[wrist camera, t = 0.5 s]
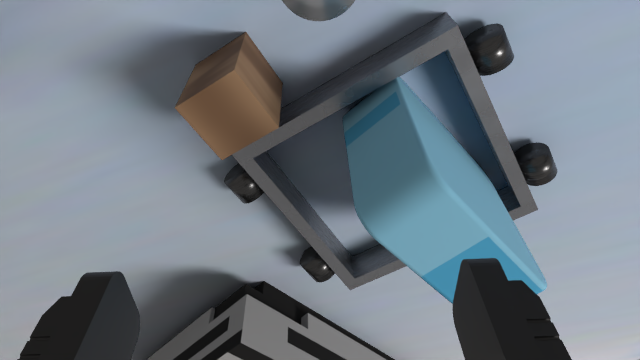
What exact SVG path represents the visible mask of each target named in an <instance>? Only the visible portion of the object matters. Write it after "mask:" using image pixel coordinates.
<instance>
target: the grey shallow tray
mask: <svg viewBox="0 0 640 360" xmlns="http://www.w3.org/2000/svg"><path fill="white" fill-rule="evenodd" d="M444 51H446V53H447V56H448V58H449V60H450V62H451V64H452V66H453V68H454V71H455V73H456V75H457V77H458V79H459V81H460V83H461V86H462V88H463V90H464V92H465V94H466V96H467V98H468V100H469V103H470V105H471V107H472V109H473V111H474V113H475V115H476V118H477V120H478V122H479V124H480V126H481V128H482V130H483V133H484V135H485V137H486V139H487V141H488V143H489V145H490V147H491V150H492V152H493V154H494V156H495V158H496V160H497V162H498V165H499V167H500V169H501V171H502V173H503V175H504V177H505V180H506V182H507V184H508V187H506V188H504V189H502V190H499V191H497V193H498V195H499V197H500V199H501V200H502V202H503V204H504V206H505V208H506V209H507V211H508V213H509V215H510V217H511V218H512V220H515V219H517V218H520V217H522V216H524V215H527V214H529V213H531V212H534V211H536V210H538V208H537V206H536V203H535V201H534V199H533V197H532V194H531V192H530V190H529V187H528V185H532V186H539V185H543V184H546V183H548V182H550V181H551V180H552V179H553V178H554V177H555V176H556V174H557V168H556V165H555V163H554V160H553V157H552V155H551V152H550V149H549V147H548V146H547V145H546V144H543V143H531V144H527V145H525V146H523V147H521V148H520V149H519V150H518V151H517V152H516V153H515V155H514V153H513V151H512V149H511V146H510V144H509V142H508V139H507V137H506V135H505V132H504V130H503V128H502V126H501V123H500V121H499V119H498V116H497V114H496V112H495V110H494V107H493V105H492V103H491V100H490V98H489V96H488V94H487V91H486V89H485V87H484V84H483V82H482V80H481V77H480V75H482V76H485V75H491V74H494V73H497V72H499V71H501V70H503V69H504V68H506V67H507V66H508V65H509V64H510V63H511V62H512V61H513V59H514V54H513V52H512V49H511V46H510V44H509V41H508V39H507V36H506V33H505V31H504V28H503V26H502V25H500V24H490V25H487V26H484V27H481V28H479V29H477V30H476V31H474V32H473V33H471V34H470V35H469V36H468V37H467V38H466V39H465V41H464V39H463V36H462V34H461V32H460V29H459V27H458V25H457V24H456V23H455V22H454V20H453V19H452V18H451V17H450V16H449V15H448V13H447V12H446V13H445V14H443V15H441V16H440V17H438V18H436V19H434V20H433V21H431V22H429V23H428V24H426V25H424V26H422V27H421V28H419V29H417V30H416V31H414V32H412V33H410V34H409V35H407V36H405V37H404V38H402V39H400V40H398V41H397V42H395V43H393V44H392V45H390V46H388V47H387V48H385V49H383V50H381V51H380V52H378V53H376V54H375V55H373V56H371V57H369V58H368V59H366V60H364V61H363V62H361V63H359V64H357V65H356V66H354V67H352V68H351V69H349V70H347V71H345V72H344V73H342V74H340V75H339V76H337V77H335V78H334V79H332V80H330V81H328V82H327V83H325V84H323V85H322V86H320V87H318V88H316V89H315V90H313V91H311V92H310V93H308V94H306V95H304V96H303V97H301V98H299V99H298V100H296V101H294V102H292V103H291V104H289V105H287V106H286V107H284V108H282V109H280V121H279V128H278V129H276V130H274V131H272V132H271V133H269V134H267V135H265V136H264V137H262V138H260V139H258V140H257V141H255V142H253V143H251V144H250V145H248V146H246V147H244V148H243V149H241V150H239V151H237V152H236V153H234V154H232V156H233V157H234V158H235V159H236V160H237V161H238V163H239V164H237V165H236V166H235V167H233V168H232V169H231V170H230V171H229V173H228V174H227V175H226V177H225V180H224V182H225V184H226V185H227V186H228V187H229V188H230V189H231V190H232V192H233V193H234V194H235V195H236V196H237V197H238V198H239V199H240V200H241V201H242V202H243V203H250V202H252V201H254V200H256V199H257V198H259V197H260V196H261V195H262V194H263V193H264V192H265V193H266V195H267V196H268V197H269V198H270V199H271V200H272V201H273V203H274V204H275V205H276V206H277V207H278V208H279V209H280V211H281V212H282V213H283V214H284V215H285V216H286V217H287V219H288V220H289V221H290V222H291V223H292V224H293V225H294V227H295V228H296V229H297V230H298V231H299V232H300V233H301V235H302V236H303V237H304V238H305V239H306V240H307V241H308V243H309V244H310V245H311V247H309V248H308V249H307V250H306V251H305V252H304V253H303V255H302V256H301V259H300V264H301V266H302V267H303V268H304V269H305V270H306V271H307V273H308V274H309V275H310V276H311V277H312V278H313V279H314V280H315V281H316V282H324V281H326V280H328V279H330V278H331V277H332V276H333V275H334V273H336V275H337V276H338V277H339V278H340V279H341V280H342V281H343V283H344V284H345V285H346V286H347V287H348V288H349V289H350V290H352V289H354V288H356V287H359V286H361V285H363V284H366V283H368V282H370V281H373V280H375V279H377V278H380V277H382V276H384V275H387V274H389V273H391V272H394V271H396V270H398V269H401V268H403V267H405V266H406V265H405V264H404V263H403V262H402V261H400V260H399V259H398V258H397V257H396V256H394V255H393V254H392V253H391V252H390V251H388V250H387V249H386V248H385V247H384V246H382V245H381V244H380V245H377V246H375V247H373V248H371V249H368V250H366V251H364V252H362V253H360V254H357V255H355V256H353V257H352V256H351V255H350V254H349V253H348V251H347V250H346V249H345V248H344V246H343V245H342V244H341V243H340V241H339V240H338V239H337V238H336V237H335V235H334V234H333V233H332V232H331V230H330V229H329V228H328V227H327V226H326V224H325V223H324V222H323V221H322V219H321V218H320V217H319V216H318V215H317V213H316V212H315V211H314V210H313V208H312V207H311V206H310V205H309V204H308V202H307V201H306V200H305V199H304V197H303V196H302V195H301V194H300V193H299V191H298V190H297V189H296V188H295V186H294V185H293V184H292V183H291V182H290V180H289V179H288V178H287V177H286V175H285V174H284V173H283V172H282V171H281V169H280V168H279V167H278V166H277V164H276V163H275V162H274V161H273V160H272V158H271V157H270V156H269V155H268V153H267V152H266V151H267V150H269V149H271V148H272V147H274V146H276V145H278V144H279V143H281V142H283V141H285V140H287V139H288V138H290V137H292V136H294V135H296V134H297V133H299V132H301V131H303V130H304V129H306V128H308V127H310V126H312V125H313V124H315V123H317V122H319V121H321V120H322V119H324V118H326V117H328V116H329V115H331V114H333V113H335V112H337V111H338V110H340V109H342V108H344V107H346V106H347V105H349V104H351V103H353V102H355V101H356V100H358V99H360V98H362V97H363V96H365V95H367V94H369V93H371V92H372V91H374V90H376V89H378V88H380V87H381V86H383V85H385V84H387V83H388V82H390V81H392V80H394V79H396V78H397V77H399V76H401V75H403V74H405V73H406V72H408V71H410V70H412V69H413V68H415V67H417V66H419V65H421V64H422V63H424V62H426V61H428V60H430V59H431V58H433V57H435V56H437V55H438V54H440V53H442V52H444ZM527 184H528V185H527Z"/></svg>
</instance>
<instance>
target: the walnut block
mask: <svg viewBox="0 0 640 360" xmlns="http://www.w3.org/2000/svg"><path fill="white" fill-rule="evenodd" d="M282 85H283V83H282V81H281V80H280V79H279V77H278V76H277V74H276V73H275V72H274V70H273V69H272V67H271V66H270V65H269V63H268V62H267V60H266V59H265V58H264V56H263V55H262V54H261V52H260V51H259V49H258V48H257V47H256V45H255V44H254V42H253V41H252V40H251V38H250V37H249V35H248V34H247V33H246V32H245V33H243V34H242V35H240V36H239V37H237V38H236V39H234V40H233V41H231V42H230V43H228V44H227V45H225V46H224V47H222V48H221V49H219V50H218V51H216V52H215V53H213V54H212V55H210V56H209V57H207V58H206V59H204V60H202V61H201V62H199V63H198V64H196V65H195V67H194V69H193V71H192V73H191V76H190V78H189V80H188V82H187V84H186V86H185V88H184V90H183V92H182V94H181V96H180V98H179V100H178V102H177V104H176V106H175V109H176V110H177V111H178V112H179V113H180V114H181V115H182V116H183V118H184V119H185V120H186V121H187V122H188V123H189V124H190V125H191V126H192V128H193V129H194V130H195V131H196V132H197V133H198V134H199V135H200V137H201V138H202V139H203V140H204V141H205V142H206V143H207V144H208V145H209V147H210V148H211V149H212V150H213V151H214V152H215V153H216V154H217V155H218V157H219V158H220V159H221V160H223V159H225V158H227V157H229V156H230V155H232V154H234V153H236V152H237V151H239V150H241V149H243V148H244V147H246V146H248V145H250V144H251V143H253V142H255V141H257V140H258V139H260V138H262V137H264V136H265V135H267V134H269V133H271V132H272V131H274V130H276V129H278V128H279V121H280V109H281V97H282Z"/></svg>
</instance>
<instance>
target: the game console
mask: <svg viewBox="0 0 640 360" xmlns="http://www.w3.org/2000/svg"><path fill="white" fill-rule="evenodd" d="M147 360H395V359H393V358H391V357H390V356H388V355H386V354H385V353H383V352H381V351H380V350H378V349H376V348H375V347H373V346H371V345H370V344H368V343H366V342H365V341H363V340H361V339H360V338H358V337H356V336H355V335H353V334H351V333H350V332H348V331H346V330H345V329H343V328H341V327H340V326H338V325H336V324H335V323H333V322H331V321H330V320H328V319H326V318H325V317H323V316H321V315H320V314H318V313H316V312H315V311H313V310H311V309H310V308H308V307H306V306H305V305H303V304H301V303H300V302H298V301H296V300H295V299H293V298H291V297H290V296H288V295H286V294H285V293H283V292H281V291H280V290H278V289H276V288H275V287H273V286H271V285H270V284H268V283H266V282H265V281H264V282H262V283H261V284H260V285H258V286H257V287H256V288H255V289H254V288H252V287H250V286H249V285H247V284H245V285H244V286H243V287H242V288H240V289H239V290H238V291H237V292H235V293H234V294H233V295H232V296H230V297H229V298H228V299H227V300H225V301H224V302H223V303H221V304H220V305H219V306H218V307H216V308H215V309H214V308H210V309H209V310H208V311H207V312H205V313H204V314H203V315H202V316H200V317H199V318H198V319H197V320H195V321H194V322H193V323H192V324H190V325H189V326H188V327H187V328H185V329H184V330H183V331H182V332H180V333H179V334H178V335H177V336H175V337H174V338H173V339H172V340H170V341H169V342H168V343H167V344H165V345H164V346H163V347H162V348H160V349H159V350H158V351H157V352H155V353H154V354H153V355H152V356H150V357H149V358H148V359H147Z"/></svg>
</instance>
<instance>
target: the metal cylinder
mask: <svg viewBox="0 0 640 360" xmlns="http://www.w3.org/2000/svg"><path fill="white" fill-rule="evenodd" d="M282 1H283V2H284V4H285V5H286V6H287V7H288V8H289V9H290V10H291V11H292V12H293V13H295V14H296V15H298V16H300V17H302V18H304V19H307V20H312V21H326V20H330V19H333V18H335V17H337V16H339V15H341V14H342V13H344V12H345V11H346V10H347V9H348V8H349V7H350V6H351V5H352V4H353V3H354V1H355V0H282Z"/></svg>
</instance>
